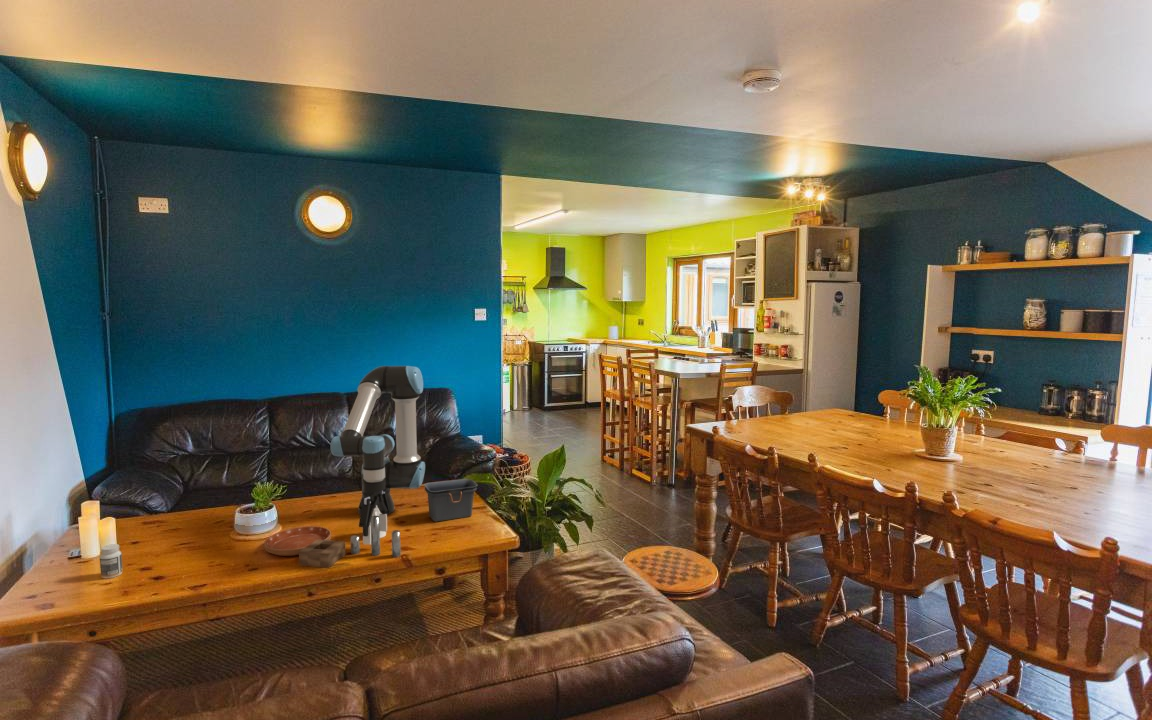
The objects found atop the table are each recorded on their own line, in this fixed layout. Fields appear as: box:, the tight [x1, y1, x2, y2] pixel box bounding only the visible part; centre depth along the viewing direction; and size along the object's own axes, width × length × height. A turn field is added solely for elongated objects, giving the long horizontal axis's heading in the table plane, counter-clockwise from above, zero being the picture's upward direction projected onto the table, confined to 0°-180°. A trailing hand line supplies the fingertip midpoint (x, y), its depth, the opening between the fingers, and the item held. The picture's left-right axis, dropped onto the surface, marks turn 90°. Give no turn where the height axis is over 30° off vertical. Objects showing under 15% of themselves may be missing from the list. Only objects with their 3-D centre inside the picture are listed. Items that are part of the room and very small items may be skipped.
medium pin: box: [391, 529, 402, 558], centre depth 217 cm, size 3×3×9 cm
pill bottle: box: [99, 543, 124, 580], centre depth 198 cm, size 6×6×10 cm
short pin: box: [350, 534, 361, 555], centre depth 219 cm, size 3×3×6 cm
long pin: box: [370, 516, 381, 557], centre depth 217 cm, size 3×3×14 cm
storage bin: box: [423, 478, 478, 523], centre depth 256 cm, size 21×16×14 cm
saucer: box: [263, 525, 332, 557], centre depth 225 cm, size 23×23×4 cm
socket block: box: [298, 539, 346, 569], centre depth 212 cm, size 11×11×5 cm
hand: (375, 537), depth 218 cm, fingers open, 12 cm apart
